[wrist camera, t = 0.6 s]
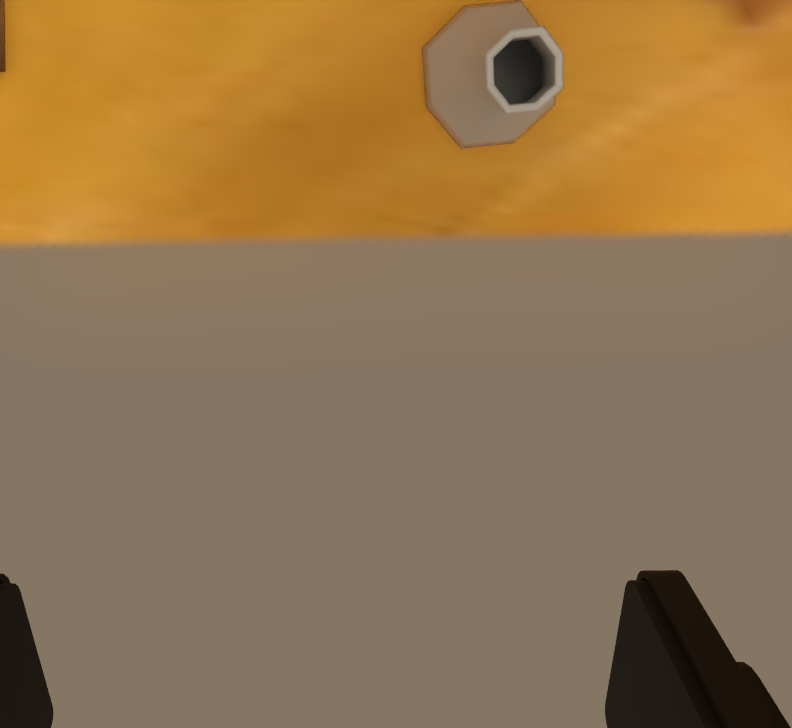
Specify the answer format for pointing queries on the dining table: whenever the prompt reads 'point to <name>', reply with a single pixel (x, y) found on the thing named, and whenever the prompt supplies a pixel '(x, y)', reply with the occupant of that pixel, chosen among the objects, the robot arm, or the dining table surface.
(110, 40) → the dining table surface
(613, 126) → the dining table surface
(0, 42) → the grey open box
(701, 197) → the dining table surface
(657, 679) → the robot arm
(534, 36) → the flask
